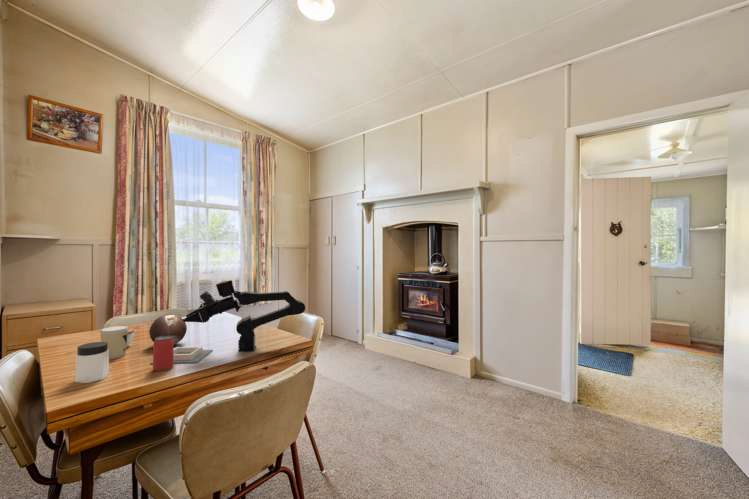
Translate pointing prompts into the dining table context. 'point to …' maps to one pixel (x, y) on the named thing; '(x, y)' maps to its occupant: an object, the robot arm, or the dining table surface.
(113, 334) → the coffee cup
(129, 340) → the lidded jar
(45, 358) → the dining table surface
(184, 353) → the holder plate
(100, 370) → the jar
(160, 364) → the beer can
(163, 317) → the brown ball
